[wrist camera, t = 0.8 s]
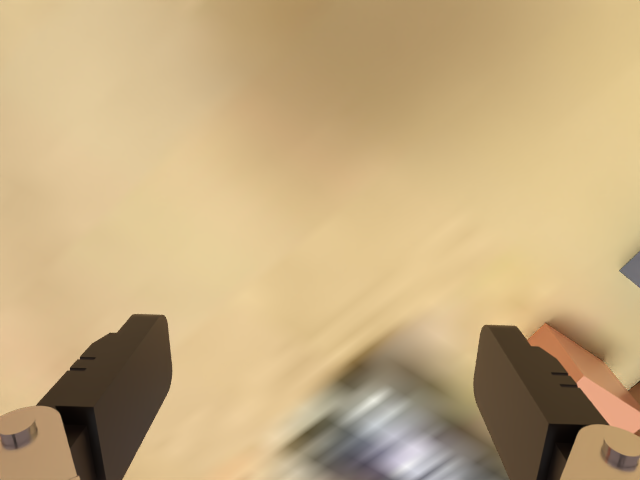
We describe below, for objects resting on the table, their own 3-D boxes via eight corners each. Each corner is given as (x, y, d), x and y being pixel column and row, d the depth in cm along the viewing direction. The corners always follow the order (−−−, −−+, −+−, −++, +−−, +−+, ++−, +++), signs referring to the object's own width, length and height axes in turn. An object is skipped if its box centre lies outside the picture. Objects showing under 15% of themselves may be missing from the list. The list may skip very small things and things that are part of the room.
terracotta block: (544, 322, 31) (584, 375, 26) (603, 360, 32) (651, 419, 27) (489, 375, 33) (516, 434, 28) (546, 410, 34) (581, 473, 29)
